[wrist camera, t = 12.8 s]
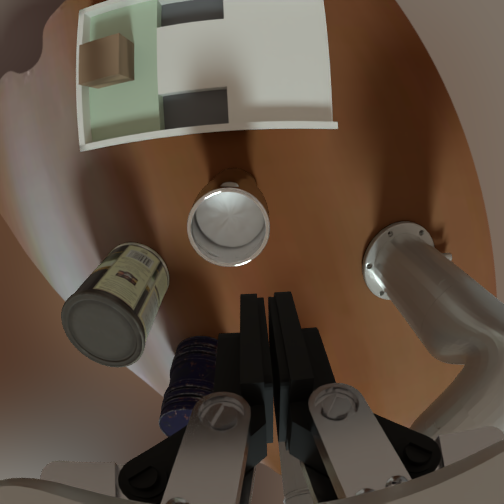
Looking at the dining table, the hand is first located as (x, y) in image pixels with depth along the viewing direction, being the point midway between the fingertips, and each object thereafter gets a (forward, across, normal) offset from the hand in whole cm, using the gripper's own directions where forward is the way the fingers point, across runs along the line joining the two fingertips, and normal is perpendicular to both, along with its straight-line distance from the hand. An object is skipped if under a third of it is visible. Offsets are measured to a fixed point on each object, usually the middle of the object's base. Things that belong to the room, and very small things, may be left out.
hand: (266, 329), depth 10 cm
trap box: (+29, +5, -16) cm, 34 cm away
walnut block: (+27, +15, -17) cm, 35 cm away
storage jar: (+29, +9, +28) cm, 42 cm away
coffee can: (+29, +17, +12) cm, 36 cm away
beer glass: (+29, +2, +1) cm, 29 cm away
